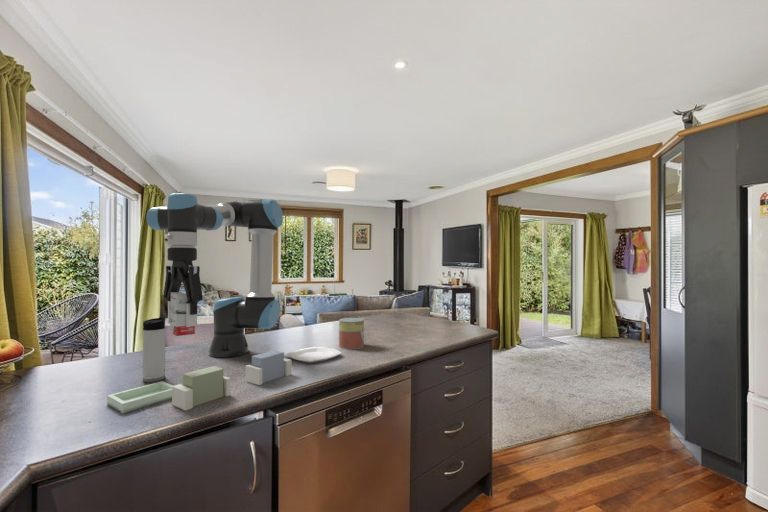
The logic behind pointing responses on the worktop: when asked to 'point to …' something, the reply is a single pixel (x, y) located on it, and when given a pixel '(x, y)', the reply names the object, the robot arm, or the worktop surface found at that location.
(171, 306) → the ink box
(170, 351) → the worktop surface
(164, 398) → the tray
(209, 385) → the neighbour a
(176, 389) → the holder
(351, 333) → the canned food
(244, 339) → the robot arm
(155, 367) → the travel mug
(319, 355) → the plate
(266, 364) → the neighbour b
